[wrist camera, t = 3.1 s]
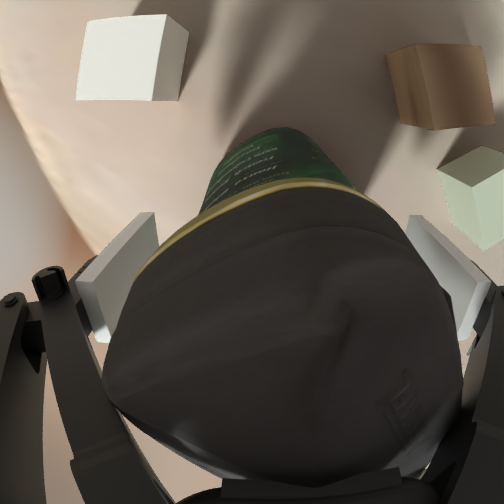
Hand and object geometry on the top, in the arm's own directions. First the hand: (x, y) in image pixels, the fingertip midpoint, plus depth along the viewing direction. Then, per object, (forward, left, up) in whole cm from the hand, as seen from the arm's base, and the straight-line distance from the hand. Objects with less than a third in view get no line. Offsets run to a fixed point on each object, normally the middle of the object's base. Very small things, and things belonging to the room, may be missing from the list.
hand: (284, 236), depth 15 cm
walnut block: (-10, -9, -7) cm, 15 cm away
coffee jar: (0, 0, -7) cm, 7 cm away
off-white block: (+9, -10, -7) cm, 15 cm away
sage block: (-15, -2, -7) cm, 17 cm away
